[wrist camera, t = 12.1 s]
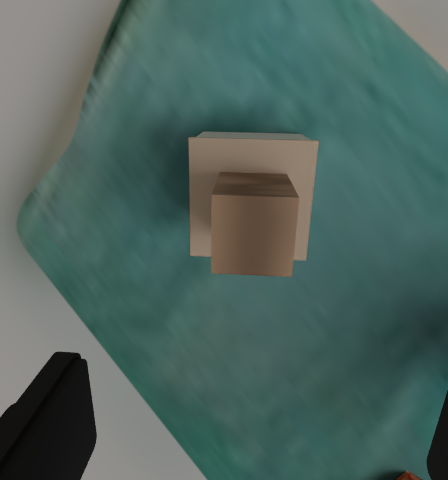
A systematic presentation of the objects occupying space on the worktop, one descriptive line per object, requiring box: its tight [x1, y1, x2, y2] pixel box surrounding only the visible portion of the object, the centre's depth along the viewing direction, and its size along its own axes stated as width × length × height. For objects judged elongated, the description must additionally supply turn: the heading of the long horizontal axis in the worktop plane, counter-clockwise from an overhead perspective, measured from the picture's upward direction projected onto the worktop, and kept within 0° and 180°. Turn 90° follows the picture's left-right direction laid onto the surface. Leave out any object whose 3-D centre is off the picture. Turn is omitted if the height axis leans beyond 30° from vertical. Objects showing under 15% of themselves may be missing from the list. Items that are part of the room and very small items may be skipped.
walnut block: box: [211, 172, 299, 277], centre depth 25 cm, size 5×5×7 cm
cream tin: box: [189, 131, 319, 260], centre depth 32 cm, size 9×9×8 cm
